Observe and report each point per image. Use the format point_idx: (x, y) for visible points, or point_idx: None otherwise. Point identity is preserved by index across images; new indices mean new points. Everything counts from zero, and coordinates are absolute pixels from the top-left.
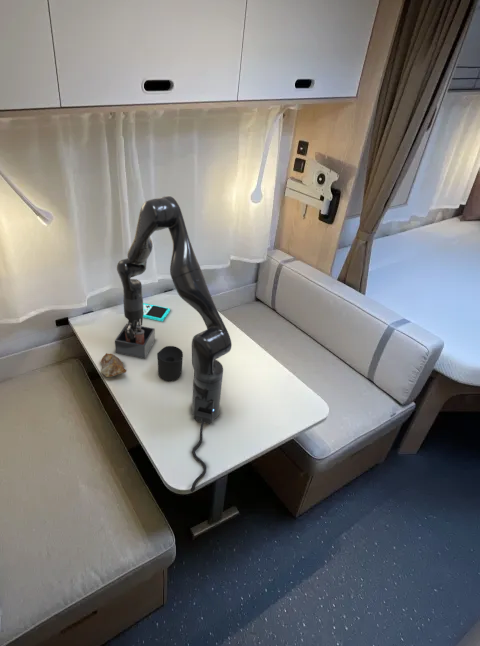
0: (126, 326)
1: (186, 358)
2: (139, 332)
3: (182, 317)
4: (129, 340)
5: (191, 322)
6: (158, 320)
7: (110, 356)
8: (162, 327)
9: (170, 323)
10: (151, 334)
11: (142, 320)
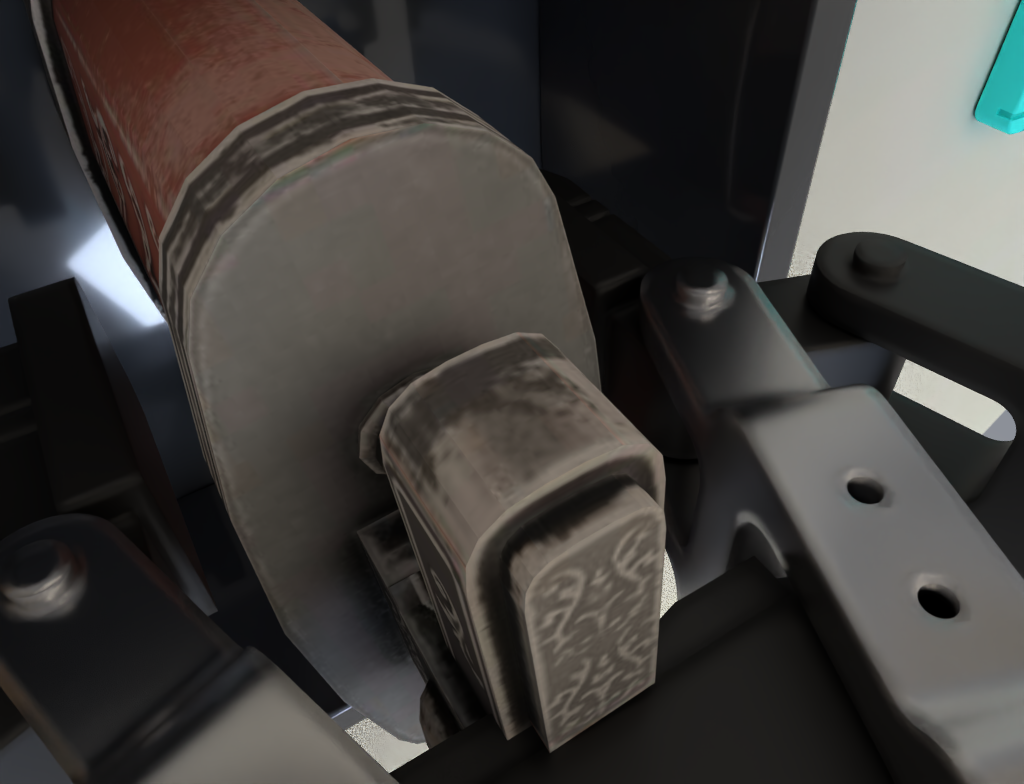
0: (440, 516)
1: (373, 754)
2: (421, 691)
3: (999, 269)
4: (117, 196)
5: (910, 388)
6: (1003, 52)
7: None
8: (849, 205)
9: (919, 235)
10: None
11: (955, 465)
